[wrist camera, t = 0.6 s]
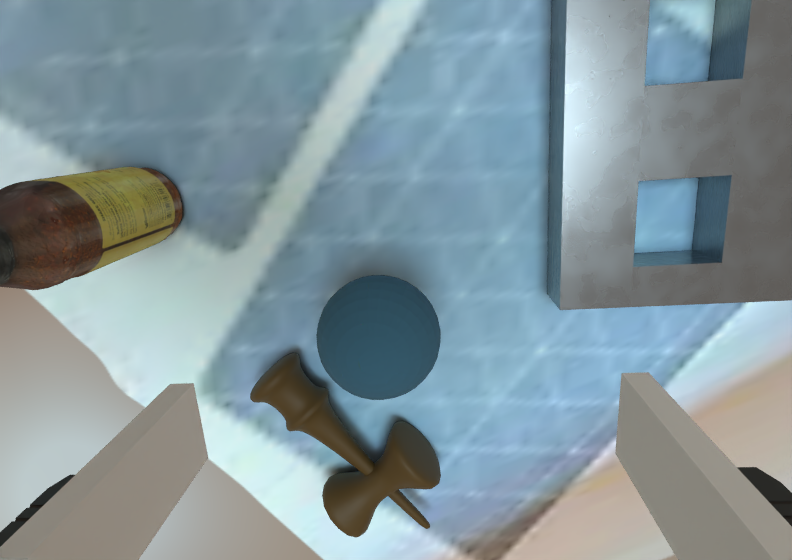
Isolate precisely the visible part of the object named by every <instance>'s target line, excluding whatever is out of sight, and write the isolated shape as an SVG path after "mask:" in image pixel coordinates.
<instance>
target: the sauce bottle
mask: <svg viewBox="0 0 792 560" xmlns="http://www.w3.org/2000/svg"><path fill="white" fill-rule="evenodd" d="M182 213H183V209H182V203H181V199H180V195H179V193H178V190H177V189H176V187H175V186H174V185H173V183H172V182H171V181H170V180H169V179H168V178H166V176H164V175H163V174H161V173H159V172H158V171H155V170H153V169H149V168H135V167H122V168H115V169H107V170H100V171H94V172H86V173H80V174H72V175H66V176H57V177H52V178H45V179H37V180H32V181H25V182H20V183H15V184H12V185H9V186H7V187H4V188H3V189H1V190H0V287H9V288H10V287H11V288H20V289H28V290H39V289H44V288H49V287H52V286H54V285H57V284H60V283H63V282H64V281H65V280H68V279H71V278H74V277H79V276H82V275H85V274H87V273H89V272H92V271H94V270H96V269H99V268H101V267H103V266H106V265H108V264H110V263H113V262H115V261H117V260H120V259H122V258H124V257H127V256H129V255H131V254H134V253H136V252H138V251H141V250H143V249H145V248H148V247H150V246H152V245H155V244H157V243H159V242H161V241H162V240H165V239H166V238H167V237H168V236H169V235H170V234H172V233H173V231H174V230H175V229H176V228H177V226H178V224H179V223H180V221H181V219H182Z"/></svg>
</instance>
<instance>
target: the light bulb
mask: <svg viewBox="0 0 792 560" xmlns="http://www.w3.org/2000/svg"><path fill="white" fill-rule="evenodd" d="M317 347H318V352H319V356H320V359H321V362H322V364H323V366H324V368H325V370H326V372H327V373H328V374H329V376H330V377H331V378H332V379H333V380H334V381H335V382H336V383H337V384H338V385H339V386H340V387H342V388H343V389H344V390H346V391H348V392H349V393H351V394H353V395H356V396H359V397H361V398H366V399H371V400H384V399H390V398H395V397H398V396H401V395H404V394H406V393H408V392H409V391H411V390H413V389H414V388H416V387H417V386H418V385H419V384H420V383H421V382H422V381H423V380H424V379H425V378H426V377H427V375H428V374H429V373H430V371H431V370H432V368H433V366H434V364H435V362H436V360H437V357H438V352H439V347H440V327H439V322H438V318H437V315H436V313H435V311H434V309H433V306H432V305H431V303H430V302H429V301H428V299H427V298H426V296H425V295H424V294H423V293H421V292H420V291H419V290H418V289H417V288H416V287H414V286H413V285H411V284H409V283H408V282H406V281H403V280H401V279H398V278H395V277H390V276H385V275H372V276H367V277H362V278H359V279H356V280H354V281H352V282H349V283H348V284H347V285H345V286H344V287H342V288H341V289H339V290H338V291H337V292H336V293H335V294H334V295H333V296H332V297H331V298H330V300H329V301H328V303H327V304H326V306H325V307H324V309H323V312H322V314H321V317H320V320H319V323H318V328H317Z"/></svg>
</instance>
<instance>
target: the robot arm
mask: <svg viewBox="0 0 792 560" xmlns="http://www.w3.org/2000/svg"><path fill="white" fill-rule="evenodd" d="M616 455H617V457H618V458H619V460H620V462H621V464H622V465H623V467H624V469H625V470H626V472H627V474H628V475H629V477H630V479H631V481H632V482H633V484H634V486H635V487H636V489H637V491H638V492H639V494H640V496H641V498H642V499H643V501H644V503H645V504H646V506H647V508H648V509H649V511H650V513H651V515H652V516H653V518H654V520H655V521H656V523H657V525H658V526H659V528H660V530H661V532H662V533H663V535H664V537H665V538H666V540H667V542H668V543H669V545H670V547H671V548H672V550H673V552H674V554H675V555H676V557H677V559H678V560H792V493H791V492H790V491H789V490H788V489H787V488H786V487H785V486H784V485H783V484H782V483H781V482H779V481H778V480H776V479H774V478H773V477H771V476H769V475H768V474H766V473H764V472H763V471H761V470H760V469H758V468H756V467H739V468H737V467H736V466H735V465H734V464H733V463H732V462H731V461H730V460H729V459H728V457H727V456H726V455H725V454H724V453H723V452H722V451H721V450H720V449H719V448H718V447H717V446H716V445H715V443H714V442H713V441H712V440H711V439H710V438H709V437H708V436H707V435H706V434H705V433H704V432H703V431H702V429H701V428H700V427H699V426H698V425H697V424H696V423H695V422H694V421H693V420H692V419H691V418H690V417H689V416H688V414H687V413H686V412H685V411H684V410H683V409H682V408H681V407H680V406H679V405H678V404H677V403H676V402H675V400H674V399H673V398H672V397H671V396H670V395H669V394H668V393H667V392H666V391H665V390H664V389H663V388H662V386H661V385H660V384H659V383H658V382H657V381H656V380H655V379H654V378H653V377H652V376H651V375H650V374H649V373H622V375H621V388H620V401H619V414H618V427H617V440H616ZM207 459H208V454H207V449H206V444H205V439H204V434H203V429H202V424H201V419H200V414H199V409H198V404H197V399H196V393H195V388H194V383H191V384H170V385H169V386H168V387H167V388H166V389H165V390H164V391H163V392H161V393H160V394H159V395H158V396H157V397H156V398H155V399H154V400H153V401H152V402H151V403H150V404H149V405H148V406H147V407H146V408H145V409H144V410H143V411H142V412H141V413H140V414H138V416H136V417H135V418H134V419H133V420H132V421H131V422H130V423H129V424H128V425H127V426H126V427H125V428H124V429H123V430H122V431H121V432H120V433H119V434H118V435H117V436H116V437H115V438H113V439H112V441H110V442H109V443H108V444H107V445H106V446H105V447H104V448H103V449H102V450H101V451H100V452H99V453H98V454H97V455H96V456H95V457H94V458H93V459H92V460H91V461H89V463H87V464H86V465H85V466H84V467H83V468H82V469H81V470H80V471H79V472H78V473H77V474H76V475H69V476H67V477H66V478H64V479H62V480H61V481H59V482H58V483H56V484H54V485H53V486H51V487H49V488H48V489H47V490H46V491H45V492H43V493H42V494H41V495H40V496H39V497H38V498H37V499H36V500H35V501H34V502H33V503H32V504H31V505H30V507H29V508H26V509H25V510H24V511H23V512H22V513H21V514H20V515H19V516H18V517H16V520H15V522H11V523H10V524H9V525H8V526H7V527H6V528H4V529H3V530H2V531H1V532H0V560H139V558H140V556H141V555H142V554H143V552H144V551H145V549H146V548H147V546H148V545H149V543H150V542H151V541H152V539H153V538H154V536H155V535H156V533H157V532H158V530H159V529H160V527H161V526H162V525H163V523H164V522H165V520H166V519H167V517H168V516H169V514H170V513H171V511H172V510H173V508H174V507H175V506H176V504H177V503H178V501H179V500H180V498H181V497H182V495H183V494H184V492H185V491H186V490H187V488H188V487H189V485H190V484H191V482H192V481H193V479H194V478H195V476H196V475H197V474H198V472H199V471H200V469H201V468H202V466H203V465H204V463H205V462H206V460H207Z"/></svg>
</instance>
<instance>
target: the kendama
mask: <svg viewBox="0 0 792 560" xmlns="http://www.w3.org/2000/svg"><path fill="white" fill-rule="evenodd" d="M328 394H329V391H328V389H326V388H323V387H318V386H316V385H314V384H313V383H312V382H311V381H310V380H309V379H308V378H307V376H306V375H305V374H304V372H303V370H302V369H301V366H300V357H299V355H298V354H297V353H291V354H288V355H287V356H285V357H283V358H282V359H280V360H279V361H278V362H277V363H275V364H274V365H273V366H272V367H271V368H270V369H269V370H268V371H267V372H266V373H265V374H264V375H263V376H262V377H261V378H260V379H259V381H258V382H257V383H256V384H255V386H254V388H253V389H252V391H251V394H250V399H251V400H252V401H253V402H265V403H268V404H270V405H272V406H273V407H274V408H276V409H277V410H278V411H279V412H280V413H281V414H282V415H283V416H284V418H285V420H286V427H287V429H288V431H302V432H305V433H307V434H309V435H311V436H312V437H314V438H316V439H317V440H319V441H320V442H322V443H323V444H325V445H326V446H327V447H329V448H330V449H332V450H333V451H334V452H336V453H337V454H339V455H340V456H341V457H343V458H344V459H345V460H347V461H348V462H349V463H350V464H352V465H353V466H354V467H355V468H357V469H358V470H359V471H358V472H347V473H338V474H336V475H333V476H331V477H329V479H328V480H327V482H326V483H325V485H324V489H323V495H322V496H323V502H324V507H325V509H326V511H327V513H328V515H329V517H330V519H331V520H332V521H333V523H334V524H335V525H336V526H337V527H338V529H340V530H341V531H342V532H344V533H345V534H347V535H348V536H353V537H359V536H360V535H362V534H363V533H365V532H366V530H367V529H368V526H369V524H370V522H371V519H372V517H373V514H374V511H375V509H376V507H377V506H378V505H379V503H380V502H381V501H382V500H383V499H384V498H386V497H387V496H389V497H390V498H391V499H392V500H393V501H394V502H395V503H396V504H397V505H399V506H400V507H401V508H402V509H403V510H404V511H405V512H406V513H407V514H408V515H410V516H411V517H412V518H413V519H414V520H415V521H416V522H418V523H419V524H420V525H421V526H423V527H424V528H426V529H428V528H430V524H429V522H428V521H427V520H426V519H425V517H424V516H423V515H422V514H421V513H420V512H419V511H418V510H417V508H416V507H415V506H414V505H413V504H412V503H411V502H410V501H409V500H408V499H407V498H406V497H405V496H404V495H403V494H402V493H401V492H400V491H399V490H398V489H403V488H414V489H432V488H433V487H435V486H436V485H438V484H439V481H440V477H441V474H440V466H439V461H438V459H437V456H436V454H435V452H434V450H433V448H432V447H431V445H430V443H429V442H428V441H427V440H426V438H425V437H424V436H423V435H422V434H421V432H419V431H418V430H417V429H416V428H415V427H413V426H412V425H410V424H408V423H406V422H404V421H399V422H396V423H395V424H394V425H393V427H392V429H391V431H390V433H389V437H388V440H387V444H386V447H385V451H384V453H383V455H382V456H381V458H379V459H378V460H377V461H376V462H375V463H374V462H373V461H372V460H371V459H370V458H369V457H368V455H367V454H366V453H365V452H364V451H363V449H362V448H361V447H360V446H359V445H358V443H357V442H356V441H355V440H354V438H353V437H352V436H351V434H350V433H349V432H348V431H347V429H346V428H345V427H344V425H343V424H342V422H341V421H340V420H339V418H338V417H337V415H336V414H335V412H334V411H333V409H332V407H331V405H330V403H329V400H328Z"/></svg>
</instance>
